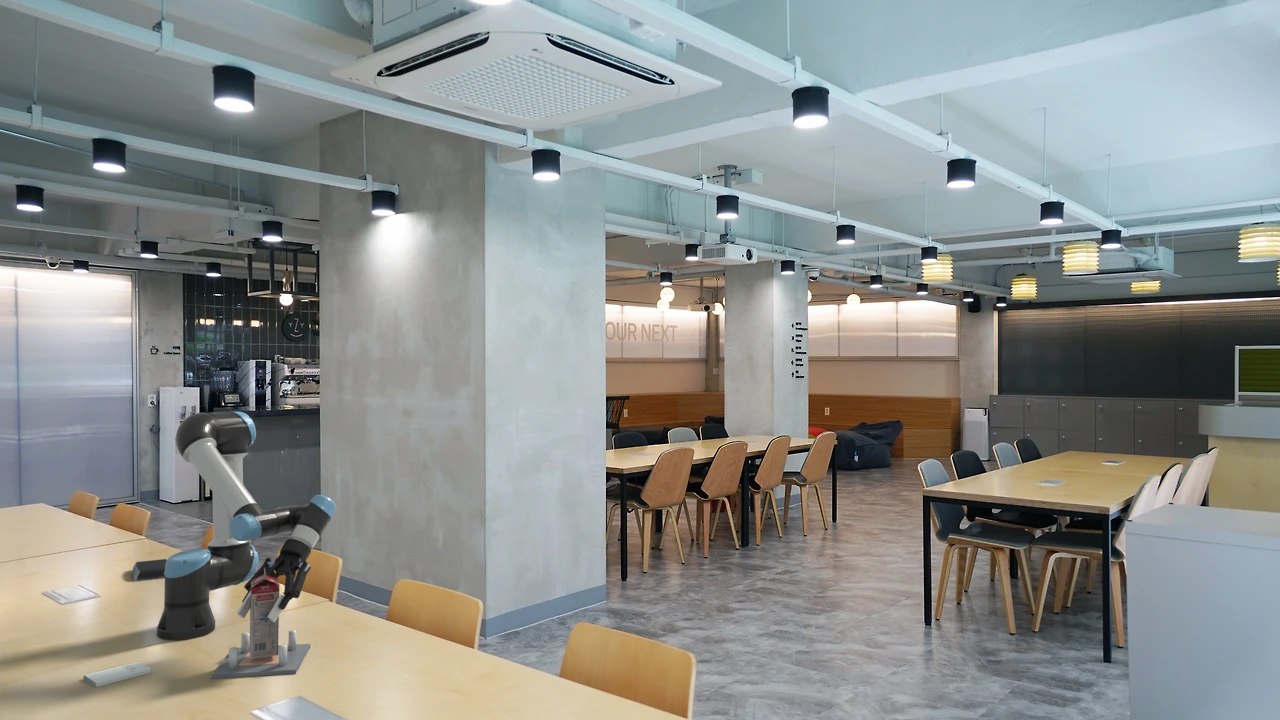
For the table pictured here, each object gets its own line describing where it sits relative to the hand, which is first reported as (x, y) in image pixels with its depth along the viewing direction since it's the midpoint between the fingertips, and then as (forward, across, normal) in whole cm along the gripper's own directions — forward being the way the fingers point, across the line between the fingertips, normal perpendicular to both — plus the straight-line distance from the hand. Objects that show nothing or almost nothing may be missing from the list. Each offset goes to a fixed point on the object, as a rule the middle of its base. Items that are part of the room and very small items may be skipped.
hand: (255, 617), depth 212 cm
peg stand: (+7, 0, -11) cm, 13 cm away
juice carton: (+5, 0, -10) cm, 11 cm away
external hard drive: (-35, +107, -54) cm, 124 cm away
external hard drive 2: (+21, +27, +2) cm, 35 cm away
